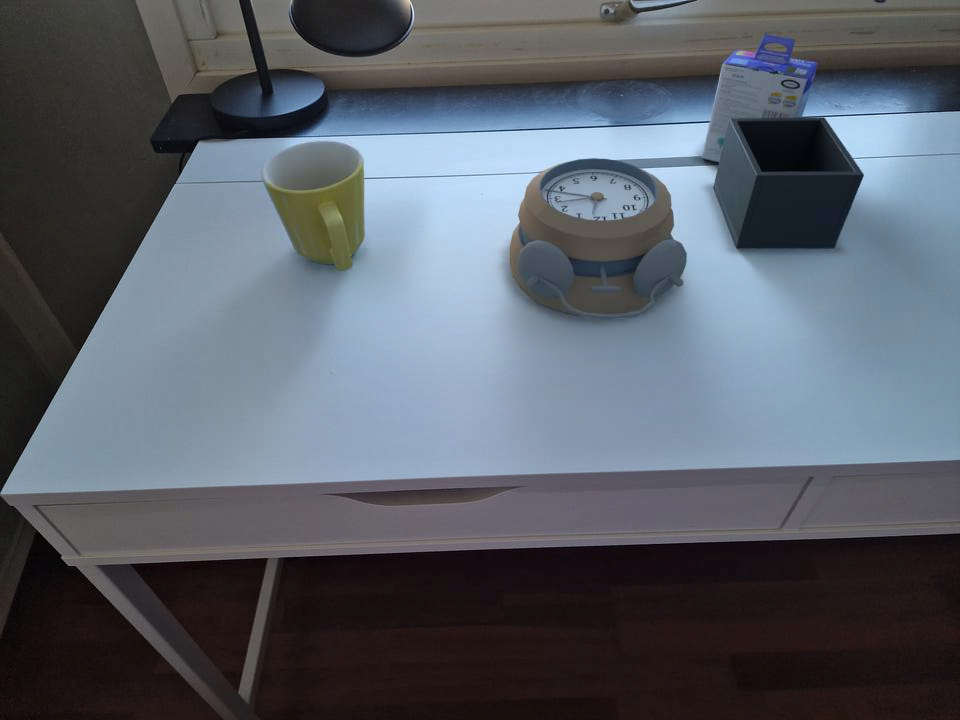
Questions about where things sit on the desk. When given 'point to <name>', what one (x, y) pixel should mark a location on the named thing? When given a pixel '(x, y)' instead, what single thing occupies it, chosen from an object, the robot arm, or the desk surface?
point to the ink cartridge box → (758, 89)
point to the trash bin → (785, 183)
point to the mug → (319, 199)
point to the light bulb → (879, 1)
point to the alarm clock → (596, 240)
